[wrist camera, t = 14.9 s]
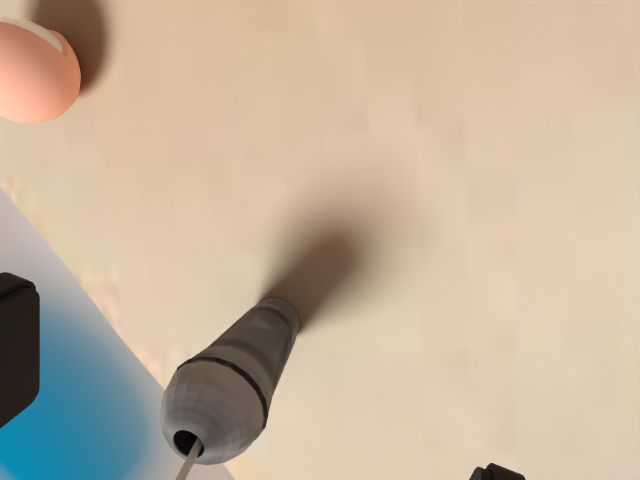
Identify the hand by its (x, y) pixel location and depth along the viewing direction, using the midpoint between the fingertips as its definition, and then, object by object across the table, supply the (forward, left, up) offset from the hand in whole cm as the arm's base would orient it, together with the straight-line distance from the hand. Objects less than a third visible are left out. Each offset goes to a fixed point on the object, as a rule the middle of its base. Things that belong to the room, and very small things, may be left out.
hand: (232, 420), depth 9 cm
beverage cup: (+6, +17, -28) cm, 34 cm away
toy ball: (+29, +1, -28) cm, 41 cm away
